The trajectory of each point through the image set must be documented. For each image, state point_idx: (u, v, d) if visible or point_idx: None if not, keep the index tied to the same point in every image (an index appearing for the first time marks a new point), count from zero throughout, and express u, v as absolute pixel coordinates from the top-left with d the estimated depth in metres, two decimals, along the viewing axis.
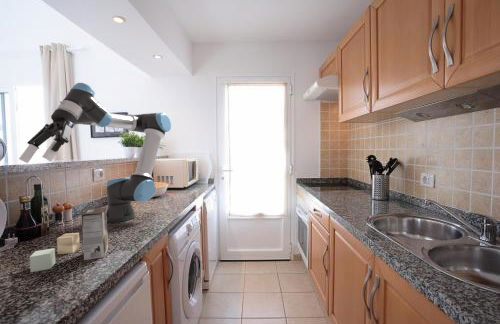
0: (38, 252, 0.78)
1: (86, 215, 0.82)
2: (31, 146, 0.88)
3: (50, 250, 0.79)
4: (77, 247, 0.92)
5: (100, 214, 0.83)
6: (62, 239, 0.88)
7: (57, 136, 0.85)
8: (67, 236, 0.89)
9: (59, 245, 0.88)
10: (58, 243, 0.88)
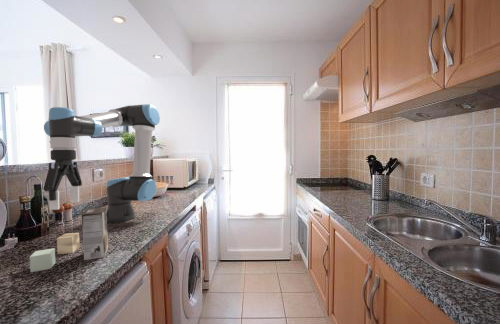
0: (38, 252, 0.78)
1: (86, 215, 0.82)
2: (71, 188, 0.96)
3: (50, 250, 0.79)
4: (77, 247, 0.92)
5: (100, 214, 0.83)
6: (62, 239, 0.88)
7: None
8: (67, 236, 0.89)
9: (59, 245, 0.88)
10: (58, 243, 0.88)
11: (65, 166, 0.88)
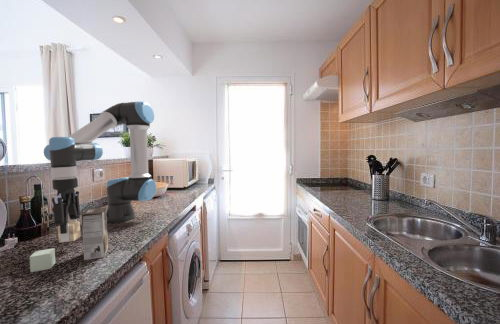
0: (38, 252, 0.78)
1: (86, 215, 0.82)
2: (70, 221, 0.93)
3: (50, 250, 0.79)
4: (78, 235, 0.92)
5: (100, 214, 0.83)
6: None
7: None
8: None
9: None
10: (59, 231, 0.88)
11: (67, 196, 0.88)
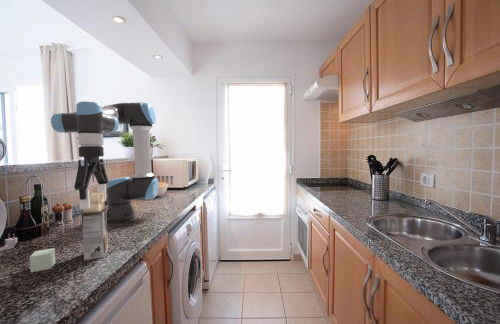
0: (38, 252, 0.78)
1: (86, 215, 0.82)
2: (98, 186, 0.92)
3: (50, 250, 0.79)
4: (102, 207, 0.88)
5: (100, 214, 0.83)
6: None
7: None
8: (93, 194, 0.85)
9: None
10: None
11: (93, 163, 0.84)
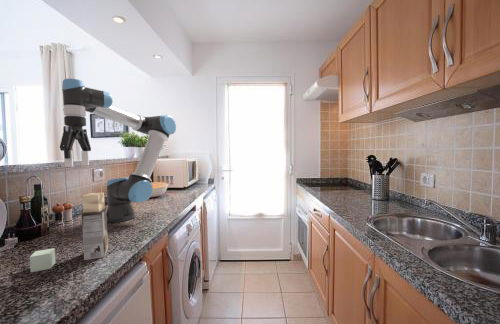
0: (38, 252, 0.78)
1: (86, 215, 0.82)
2: (82, 152, 1.09)
3: (50, 250, 0.79)
4: (102, 207, 0.88)
5: (100, 214, 0.83)
6: (88, 197, 0.83)
7: None
8: (93, 194, 0.85)
9: (85, 203, 0.83)
10: (84, 201, 0.83)
11: (77, 130, 1.00)
